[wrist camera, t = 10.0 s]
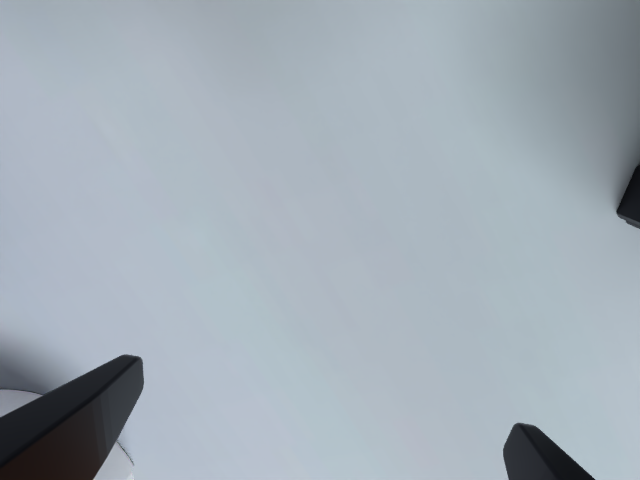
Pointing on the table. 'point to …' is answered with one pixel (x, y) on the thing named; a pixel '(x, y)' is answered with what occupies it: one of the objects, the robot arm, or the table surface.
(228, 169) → the table surface
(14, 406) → the roll of tape
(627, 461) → the table surface
